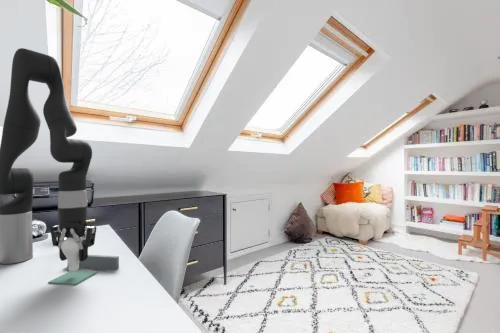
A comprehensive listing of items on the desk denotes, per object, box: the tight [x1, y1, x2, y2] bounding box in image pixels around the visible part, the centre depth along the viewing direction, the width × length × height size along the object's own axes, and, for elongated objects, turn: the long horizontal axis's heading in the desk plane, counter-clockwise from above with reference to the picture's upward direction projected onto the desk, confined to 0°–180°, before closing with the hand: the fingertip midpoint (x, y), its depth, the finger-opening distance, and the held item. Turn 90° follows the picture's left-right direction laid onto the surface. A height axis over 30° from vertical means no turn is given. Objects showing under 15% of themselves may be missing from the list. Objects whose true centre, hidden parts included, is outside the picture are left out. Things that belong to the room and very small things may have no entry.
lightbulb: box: [61, 237, 84, 272], centre depth 82 cm, size 6×6×11 cm
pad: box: [47, 269, 99, 286], centre depth 82 cm, size 9×9×1 cm
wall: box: [66, 254, 120, 271], centre depth 90 cm, size 18×1×4 cm, turn 82°
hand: (73, 260), depth 82 cm, fingers closed on lightbulb, 5 cm apart
